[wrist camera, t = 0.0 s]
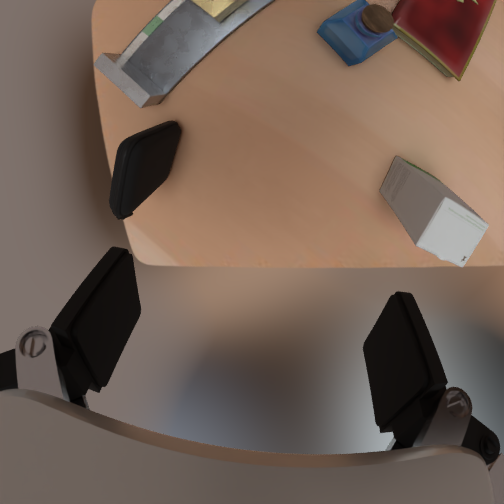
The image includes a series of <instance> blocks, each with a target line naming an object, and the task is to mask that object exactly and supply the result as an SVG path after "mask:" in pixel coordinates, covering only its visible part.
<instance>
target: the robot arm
mask: <svg viewBox="0 0 504 504" xmlns="http://www.w3.org/2000/svg"><path fill="white" fill-rule="evenodd" d="M140 314H141V305H140V300H139V295H138V288H137V282H136V276H135V270H134V262H133V256H132V254H129V251H128V250H127V249H124V248H119V247H111V248H110V249H109V251H108V252H107V253H106V254H105V255H104V256H103V258H102V259H101V260H100V261H99V262H98V264H97V265H96V266H95V267H94V269H93V270H92V271H91V272H90V274H89V275H88V276H87V277H86V279H85V280H84V281H83V282H82V284H81V285H80V286H79V288H78V289H77V290H76V291H75V293H74V294H73V295H72V297H71V298H70V299H69V301H68V302H67V303H66V305H65V306H64V308H63V309H62V311H61V312H60V313H59V315H58V316H57V317H56V319H55V320H54V322H53V323H52V325H51V327H50V329H49V330H47V329H46V328H44V327H40V326H35V327H31V328H28V329H26V330H25V331H24V332H22V333H21V335H20V336H19V337H18V339H17V342H16V347H15V349H12V350H9V351H6V352H4V353H1V354H0V504H504V455H503V454H502V453H501V454H499V451H500V443H499V439H498V437H497V436H496V435H495V433H494V432H492V431H491V430H490V429H489V428H487V427H486V426H485V425H483V424H482V423H481V422H480V421H478V420H477V419H476V418H475V417H473V416H472V415H471V414H472V403H471V400H470V397H469V396H468V395H467V393H466V392H465V391H463V390H462V389H460V388H458V387H450V388H448V389H446V386H445V385H446V384H447V383H448V381H447V379H446V376H445V373H444V370H443V367H442V364H441V362H440V359H439V356H438V353H437V351H436V348H435V346H434V343H433V341H432V338H431V336H430V333H429V331H428V329H427V326H426V324H425V321H424V319H423V317H422V314H421V312H420V310H419V308H418V306H417V303H416V301H415V299H414V297H413V295H412V294H411V293H407V292H396V293H395V294H394V295H391V296H390V298H389V300H388V302H387V304H386V305H385V307H384V309H383V311H382V313H381V315H380V316H379V318H378V320H377V322H376V324H375V325H374V327H373V329H372V330H371V332H370V334H369V335H368V337H367V339H366V340H365V342H364V346H363V352H364V357H365V362H366V367H367V372H368V378H369V383H370V390H371V395H372V402H373V408H374V414H375V422H376V424H377V426H379V428H380V433H385V432H393V434H394V438H393V439H392V441H391V442H390V444H389V446H388V447H387V449H386V451H379V452H368V453H354V454H331V455H330V454H329V455H328V454H326V455H325V454H324V455H314V454H313V455H312V454H283V453H268V452H258V451H250V450H241V449H234V448H227V447H221V446H215V445H209V444H204V443H199V442H194V441H189V440H185V439H180V438H176V437H172V436H168V435H164V434H160V433H157V432H153V431H149V430H146V429H143V428H139V427H136V426H133V425H130V424H127V423H124V422H121V421H118V420H115V419H112V418H109V417H107V416H104V415H101V414H99V413H95V412H93V411H91V410H90V409H89V406H88V403H87V400H86V396H85V395H86V393H87V390H88V389H91V390H93V391H95V392H98V393H99V392H100V390H101V388H102V387H105V386H106V385H107V384H108V382H109V379H110V377H111V375H112V373H113V371H114V368H115V366H116V364H117V362H118V360H119V358H120V356H121V353H122V351H123V349H124V347H125V345H126V343H127V341H128V339H129V337H130V335H131V333H132V330H133V329H134V327H135V325H136V323H137V321H138V319H139V317H140Z"/></svg>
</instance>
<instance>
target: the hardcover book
mask: <svg viewBox="0 0 504 504" xmlns="http://www.w3.org/2000/svg"><path fill="white" fill-rule="evenodd" d="M495 3H496V0H400V1H399V3H398V5H397V6H396V8H395V10H394V11H393V13H392V17H393V20H394V25H393V28H392V30H393V31H394V32H395V34H396V35H397V36H398V37H400V38H401V39H402V40H404V41H405V42H406V43H408V44H409V45H410V46H411V47H413V48H414V49H415V50H416V51H418V52H419V53H420V54H421V55H423V56H424V57H425V58H426V59H427V60H429V61H430V62H431V63H432V64H433V65H434V66H435V67H436V68H438V69H439V70H440V71H441V72H442V73H443V74H444V75H445V76H446V77H455V78H456V79H457V80H458V81H460V80H461V78H462V76H463V74H464V72H465V70H466V68H467V66H468V64H469V62H470V60H471V58H472V56H473V54H474V52H475V50H476V48H477V45H478V43H479V41H480V39H481V37H482V34H483V32H484V30H485V28H486V25H487V23H488V21H489V18H490V16H491V13H492V11H493V8H494V6H495Z"/></svg>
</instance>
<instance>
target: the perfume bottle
mask: <svg viewBox="0 0 504 504" xmlns="http://www.w3.org/2000/svg"><path fill="white" fill-rule="evenodd" d="M393 25H394V20H393V17H392V15H391V13H390V12H389V11H388V10H387V9H386V8H384V7H382V6H380V5H376V4H371V5H370V4H369V3H368V2H366V1H365V0H357V1H355V2H353V3H352V4H350V5H349V6H347V7H345V8H344V9H342V10H341V11H339V12H338V13H336V14H334V15H333V16H331V17H330V18H329V19H327V20H326V21H324V22H323V23H322V25H321V26H320V28H319V29H318V31H317V33H318V34H319V35H320V36H321V37H322V38H323V39H324V40H325V41H326V42H327V43H328V44H329V45H330V46H331V47H332V48H333V49H334V50H335V51H336V53H337V54H338V55H339V56H340V57H341V58H342V59H343V60H344V61H345V62H346V64H347V65H348V66H351V65H355V64H358V63H362V62H363V61H364V60H366V59H367V58H369V57H370V56H372V55H373V54H374V53H376V52H377V51H379V50H380V49H382V48H383V47H385V46H386V45H388V44H389V43H391V42H392V41H394V40H395V39H397V38H398V37H397V35H396V34H395V32H394V31H393V30H392V28H393Z"/></svg>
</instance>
